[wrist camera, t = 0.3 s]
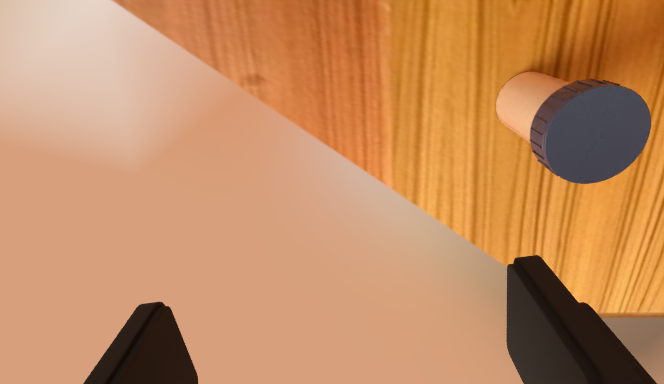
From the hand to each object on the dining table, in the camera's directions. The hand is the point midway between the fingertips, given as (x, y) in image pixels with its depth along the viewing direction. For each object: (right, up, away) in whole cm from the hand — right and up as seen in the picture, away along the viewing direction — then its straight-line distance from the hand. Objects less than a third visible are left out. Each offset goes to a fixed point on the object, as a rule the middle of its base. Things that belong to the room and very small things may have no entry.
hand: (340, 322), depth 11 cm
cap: (+18, +8, +17) cm, 26 cm away
